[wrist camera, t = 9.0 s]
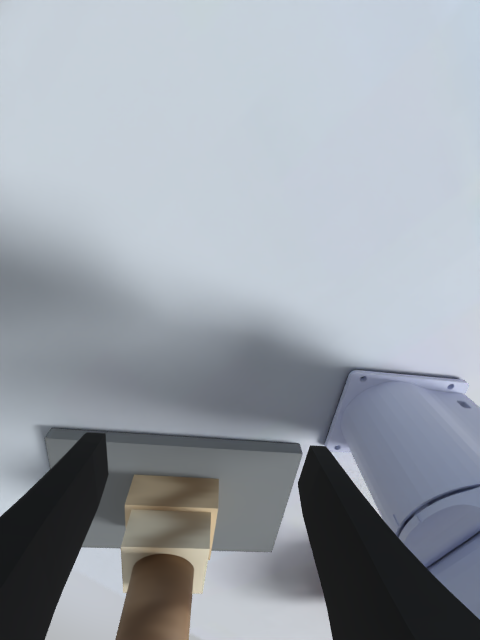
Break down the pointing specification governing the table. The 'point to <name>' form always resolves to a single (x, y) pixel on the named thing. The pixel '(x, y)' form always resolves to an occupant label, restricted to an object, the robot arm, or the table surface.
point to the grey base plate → (197, 462)
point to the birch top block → (167, 540)
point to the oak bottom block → (174, 496)
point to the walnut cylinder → (158, 599)
